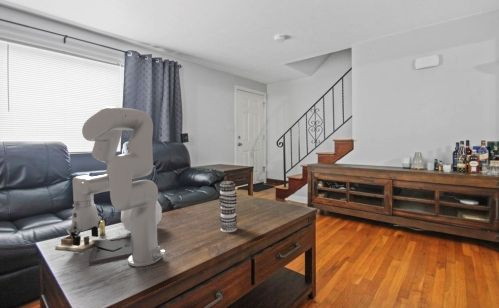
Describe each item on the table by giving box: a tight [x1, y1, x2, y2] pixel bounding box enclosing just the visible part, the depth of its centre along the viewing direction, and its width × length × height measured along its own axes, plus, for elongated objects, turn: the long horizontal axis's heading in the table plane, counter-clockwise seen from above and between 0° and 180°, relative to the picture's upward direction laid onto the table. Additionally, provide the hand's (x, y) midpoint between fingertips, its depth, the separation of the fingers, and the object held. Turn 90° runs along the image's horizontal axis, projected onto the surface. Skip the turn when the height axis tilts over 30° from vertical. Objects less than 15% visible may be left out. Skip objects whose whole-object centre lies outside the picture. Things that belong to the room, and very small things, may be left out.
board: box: [54, 235, 102, 253], centre depth 114 cm, size 15×10×4 cm
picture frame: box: [88, 235, 132, 266], centre depth 109 cm, size 16×2×21 cm
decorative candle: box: [218, 180, 238, 233], centre depth 130 cm, size 9×9×25 cm
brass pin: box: [98, 219, 106, 236], centre depth 127 cm, size 2×2×7 cm
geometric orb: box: [120, 200, 163, 232], centre depth 129 cm, size 19×20×20 cm
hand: (86, 240), depth 114 cm, fingers open, 9 cm apart
